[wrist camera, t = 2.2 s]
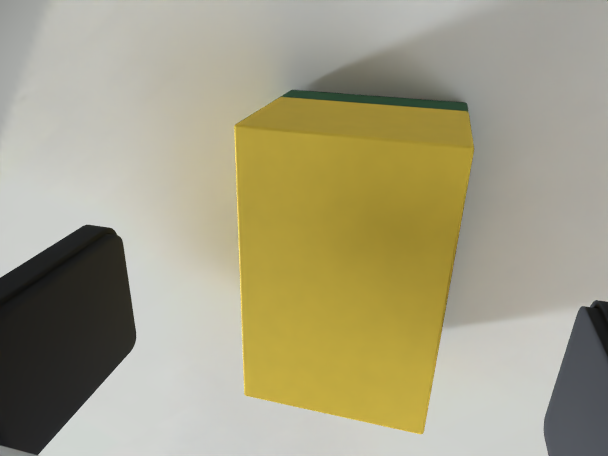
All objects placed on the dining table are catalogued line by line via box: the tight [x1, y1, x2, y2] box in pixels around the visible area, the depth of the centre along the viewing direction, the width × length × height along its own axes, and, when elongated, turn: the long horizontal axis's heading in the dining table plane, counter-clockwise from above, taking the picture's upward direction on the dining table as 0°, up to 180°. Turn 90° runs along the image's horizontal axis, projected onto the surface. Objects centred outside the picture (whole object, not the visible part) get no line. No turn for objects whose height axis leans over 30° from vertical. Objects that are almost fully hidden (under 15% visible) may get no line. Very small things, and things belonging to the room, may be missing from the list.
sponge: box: [234, 90, 474, 434], centre depth 12 cm, size 7×4×4 cm, turn 179°
